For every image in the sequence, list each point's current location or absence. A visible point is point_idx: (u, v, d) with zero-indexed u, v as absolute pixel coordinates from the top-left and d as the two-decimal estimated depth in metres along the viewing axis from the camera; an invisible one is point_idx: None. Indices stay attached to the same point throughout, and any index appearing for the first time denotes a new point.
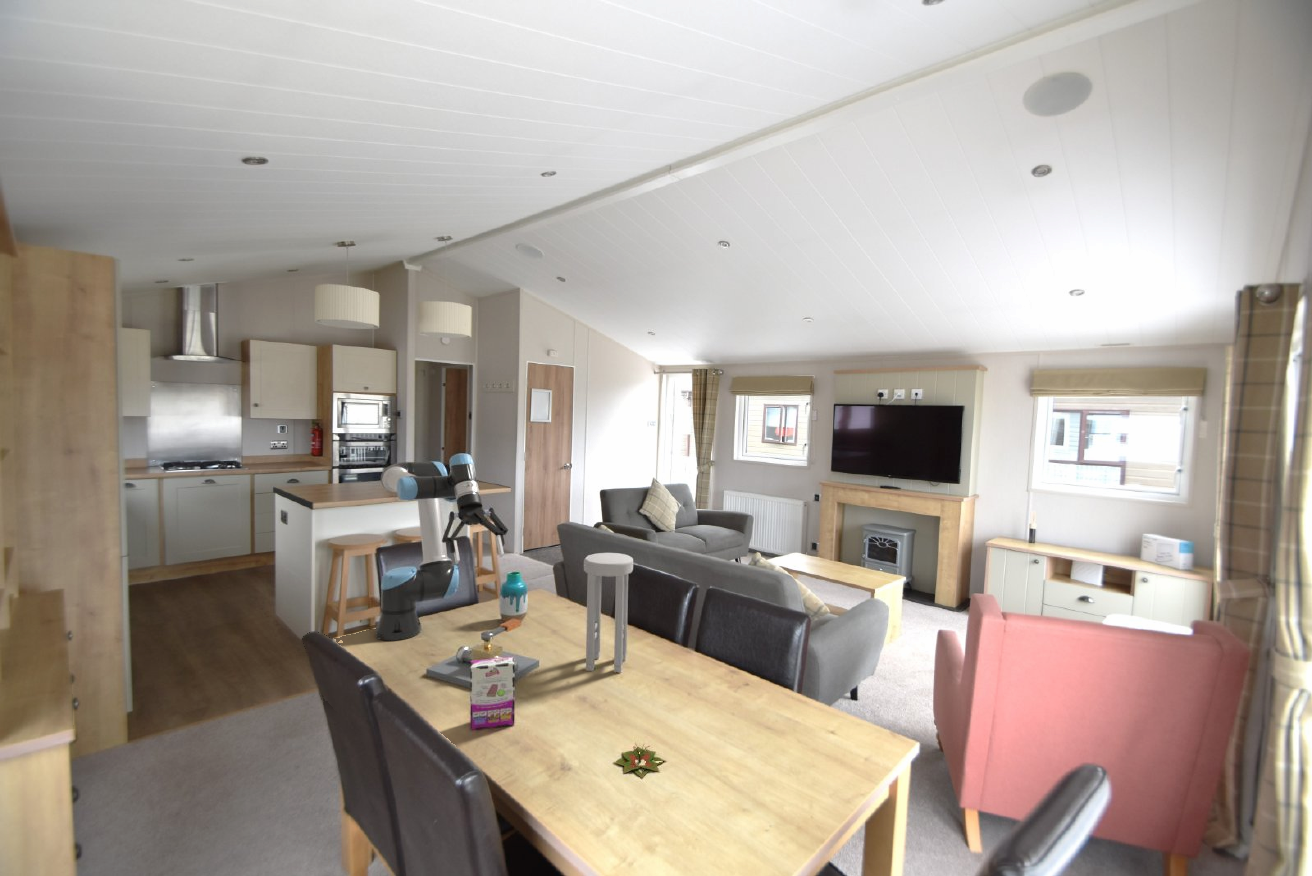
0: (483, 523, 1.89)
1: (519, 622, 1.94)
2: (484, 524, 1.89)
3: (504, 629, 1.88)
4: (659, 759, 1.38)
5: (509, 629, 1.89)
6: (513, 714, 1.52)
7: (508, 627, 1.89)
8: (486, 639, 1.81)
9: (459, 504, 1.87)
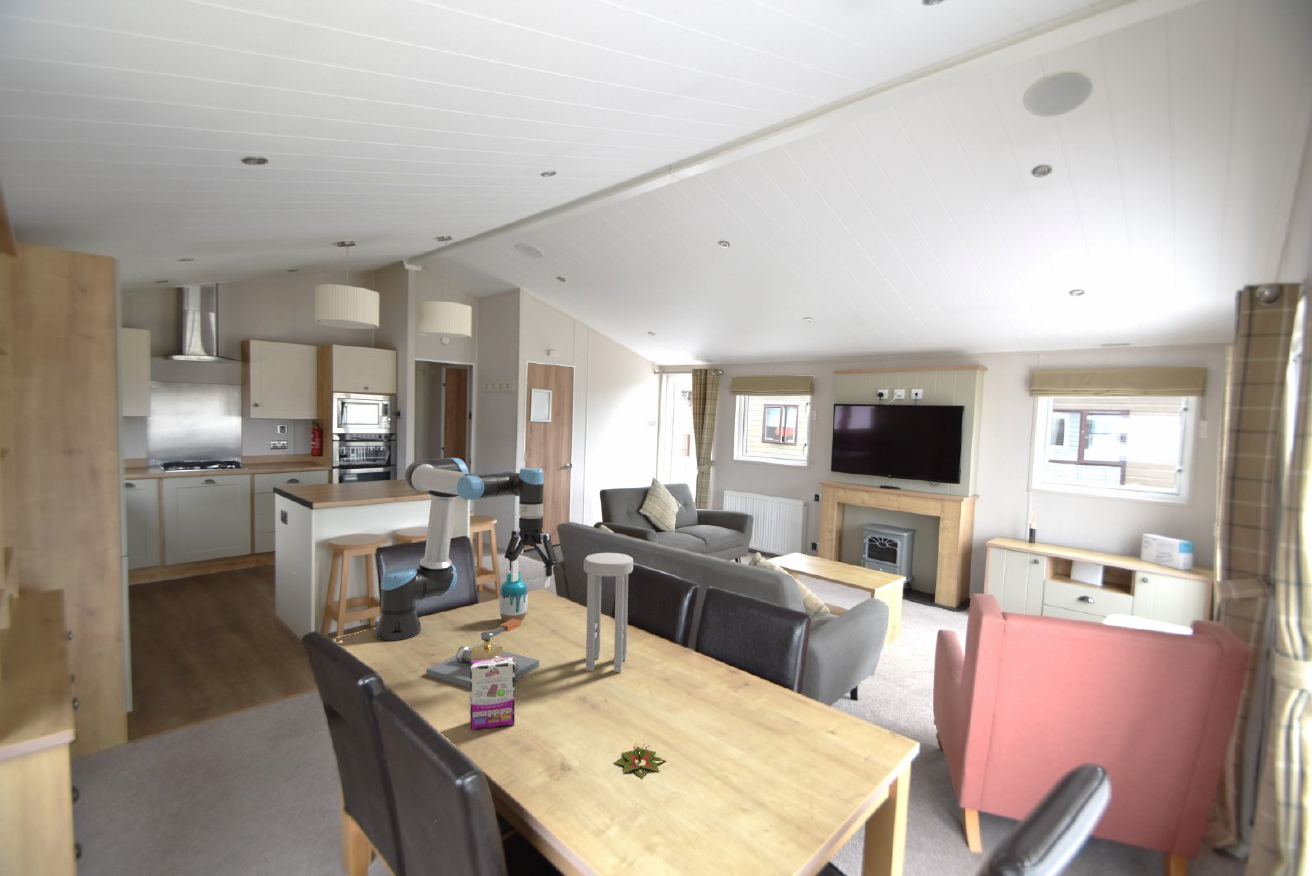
0: None
1: (519, 622, 1.94)
2: None
3: (504, 629, 1.88)
4: (659, 759, 1.38)
5: (509, 629, 1.89)
6: (513, 714, 1.52)
7: (508, 627, 1.89)
8: (486, 639, 1.81)
9: None
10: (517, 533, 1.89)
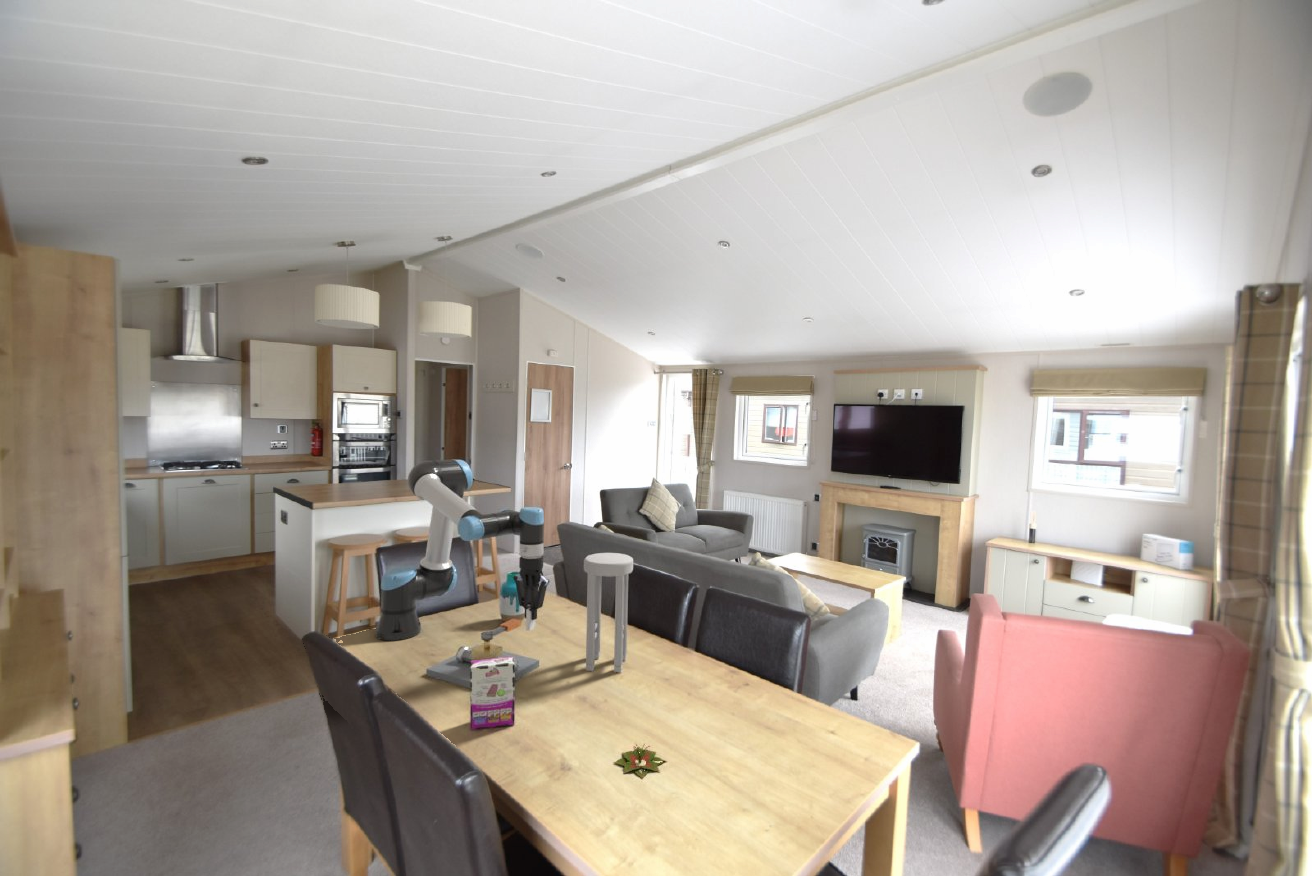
0: None
1: (519, 622, 1.94)
2: None
3: (504, 629, 1.88)
4: (659, 759, 1.38)
5: (509, 629, 1.89)
6: (513, 714, 1.52)
7: (508, 627, 1.89)
8: (486, 639, 1.81)
9: None
10: (518, 576, 1.90)
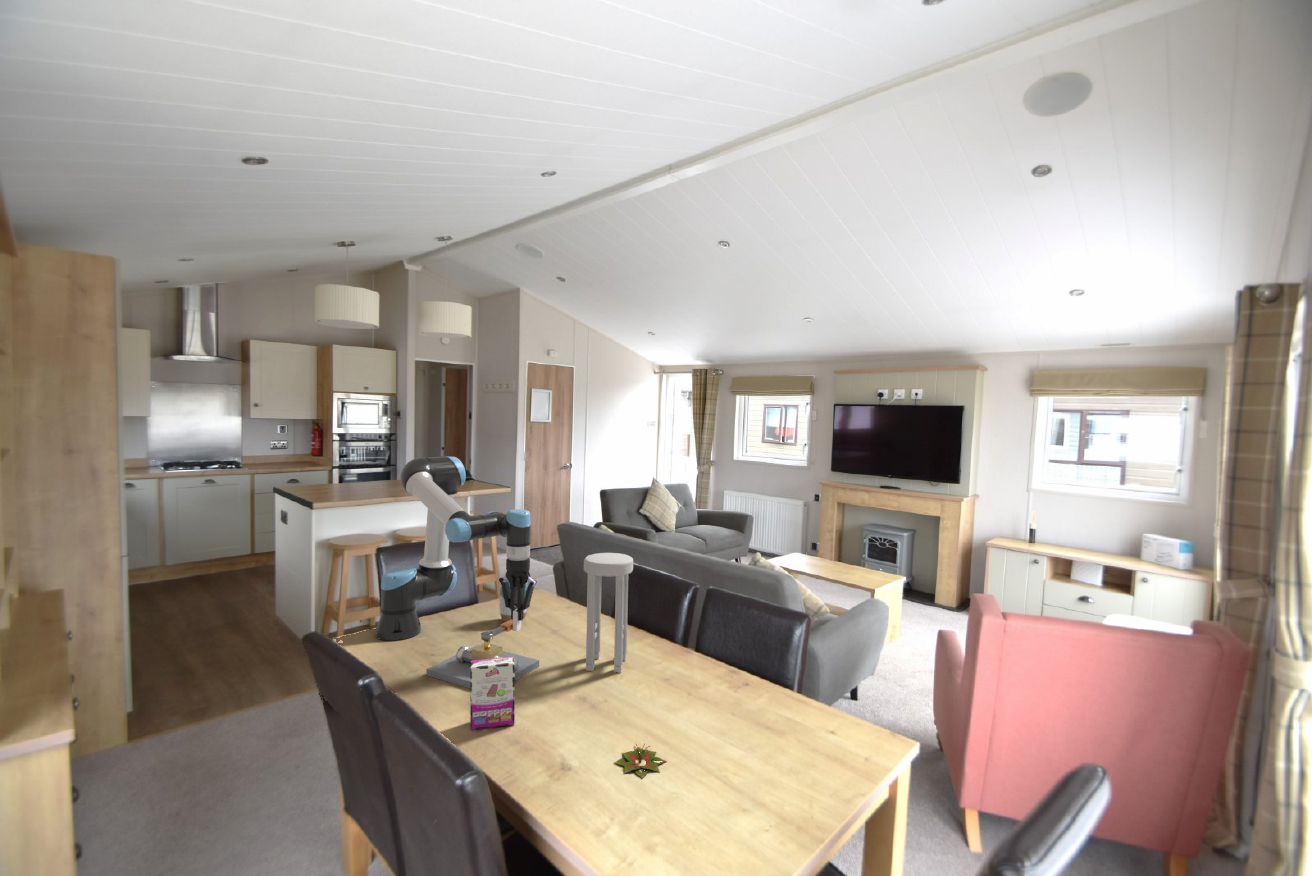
0: None
1: None
2: None
3: (504, 629, 1.88)
4: (659, 759, 1.38)
5: (509, 629, 1.89)
6: (513, 714, 1.52)
7: (508, 627, 1.89)
8: (486, 639, 1.81)
9: None
10: (504, 578, 1.92)
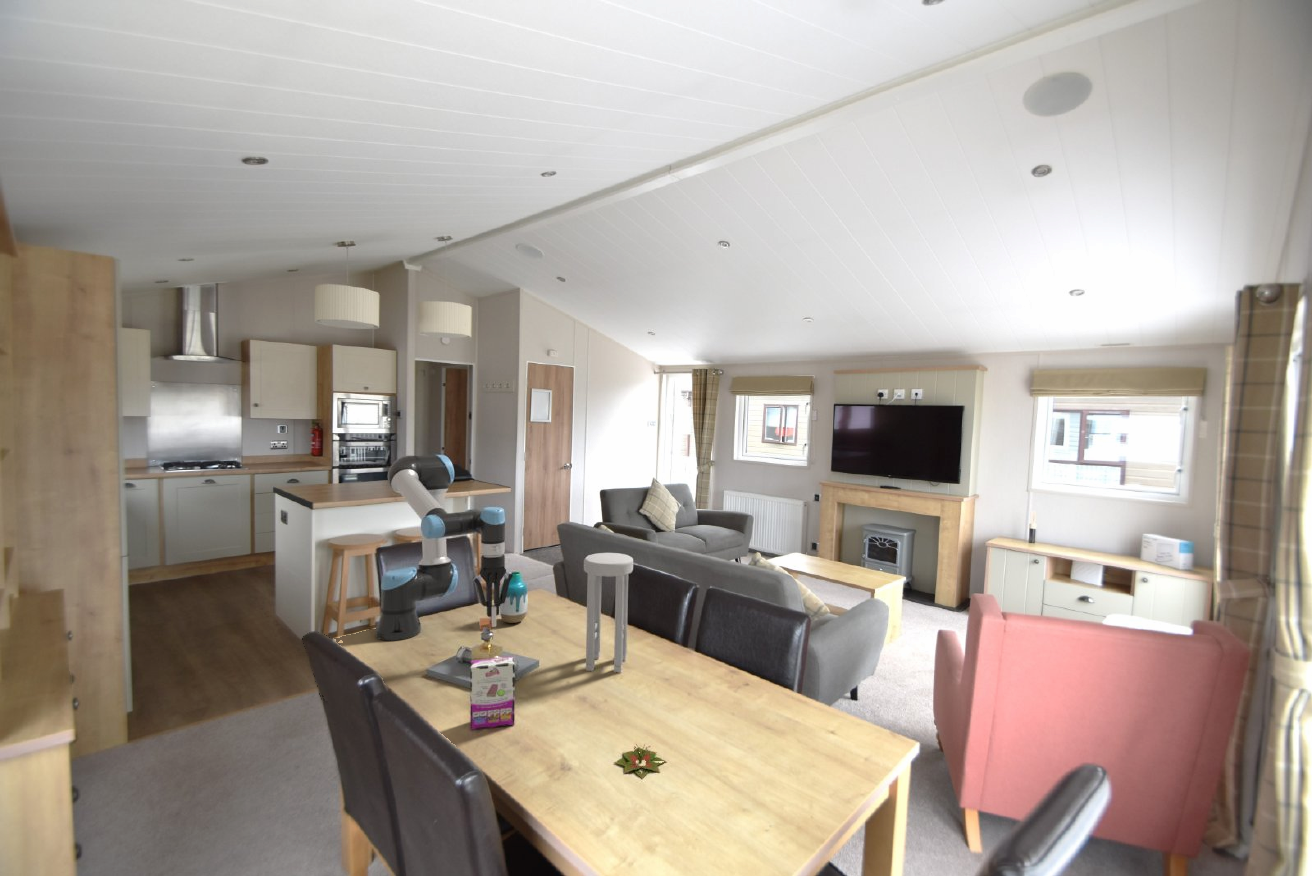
0: (494, 584, 1.94)
1: (489, 619, 1.95)
2: (494, 586, 1.94)
3: (489, 627, 1.89)
4: (660, 759, 1.38)
5: (490, 627, 1.91)
6: (513, 714, 1.52)
7: (490, 625, 1.90)
8: (491, 638, 1.81)
9: (483, 565, 1.90)
10: (479, 578, 1.90)
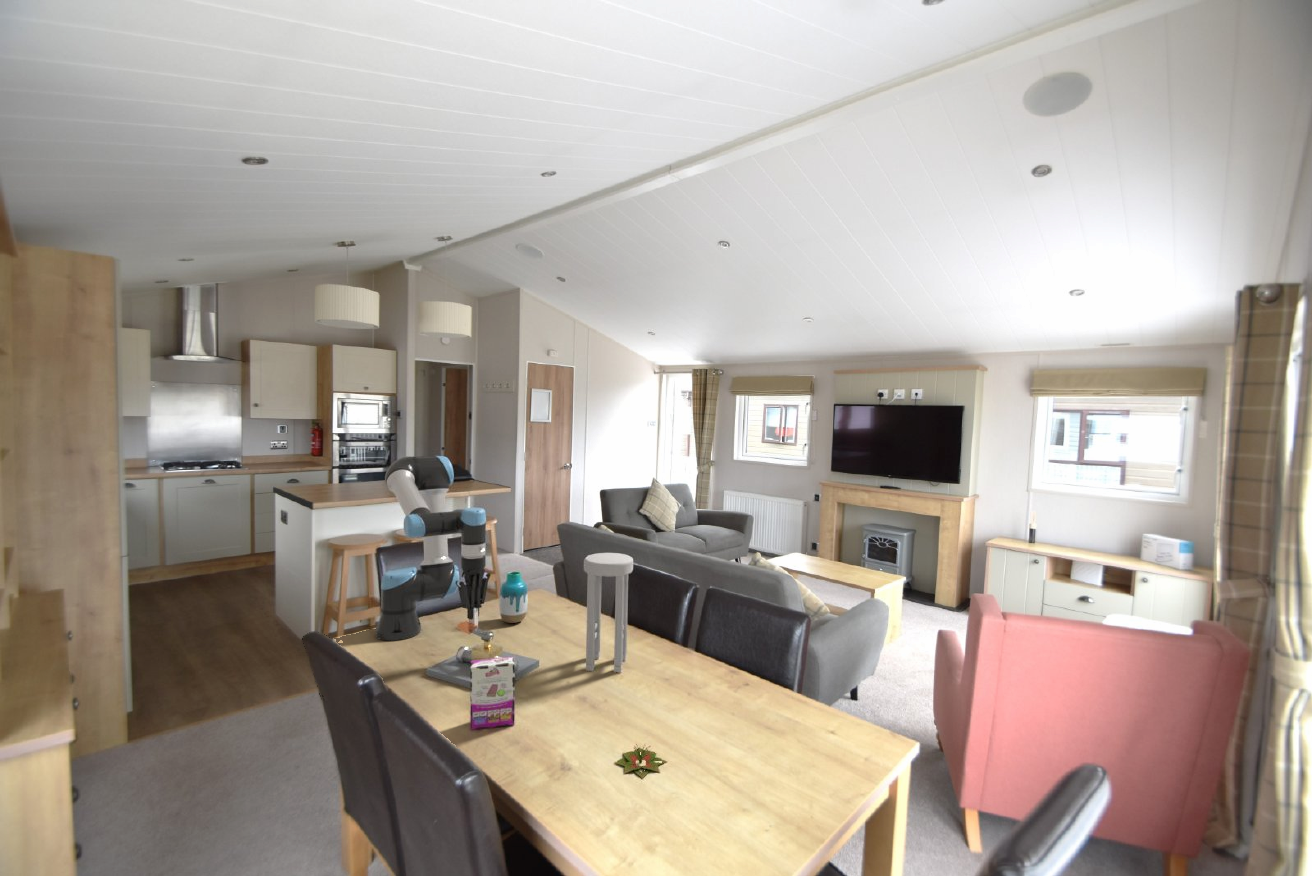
0: None
1: None
2: (474, 587, 1.92)
3: None
4: (660, 759, 1.38)
5: None
6: (513, 714, 1.52)
7: None
8: (492, 637, 1.82)
9: (467, 567, 1.87)
10: (463, 581, 1.87)
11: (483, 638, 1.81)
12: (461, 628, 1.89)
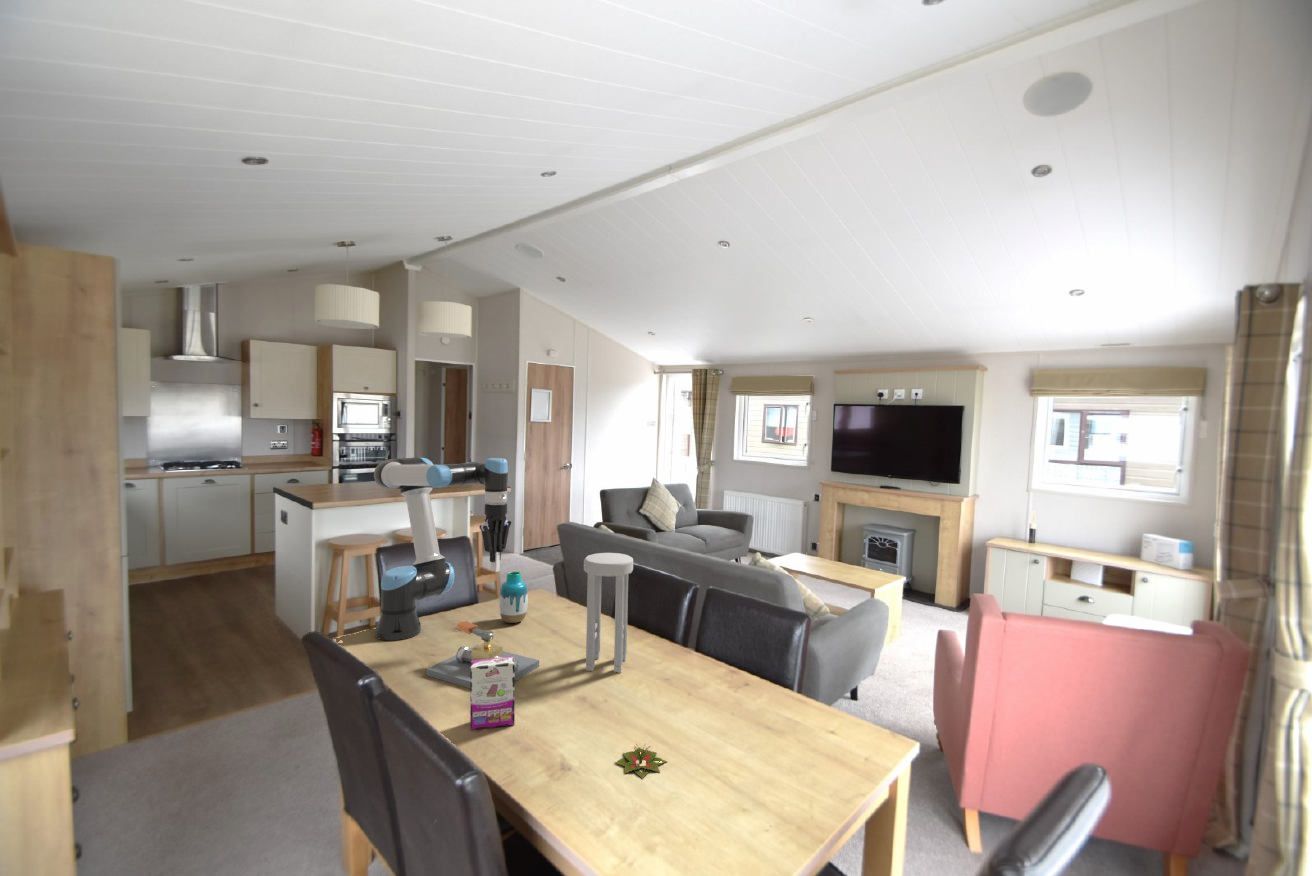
0: None
1: None
2: (496, 532, 2.04)
3: None
4: (660, 760, 1.38)
5: None
6: (513, 714, 1.52)
7: None
8: (492, 637, 1.82)
9: (491, 512, 1.99)
10: (486, 525, 1.99)
11: (483, 638, 1.81)
12: (461, 628, 1.89)
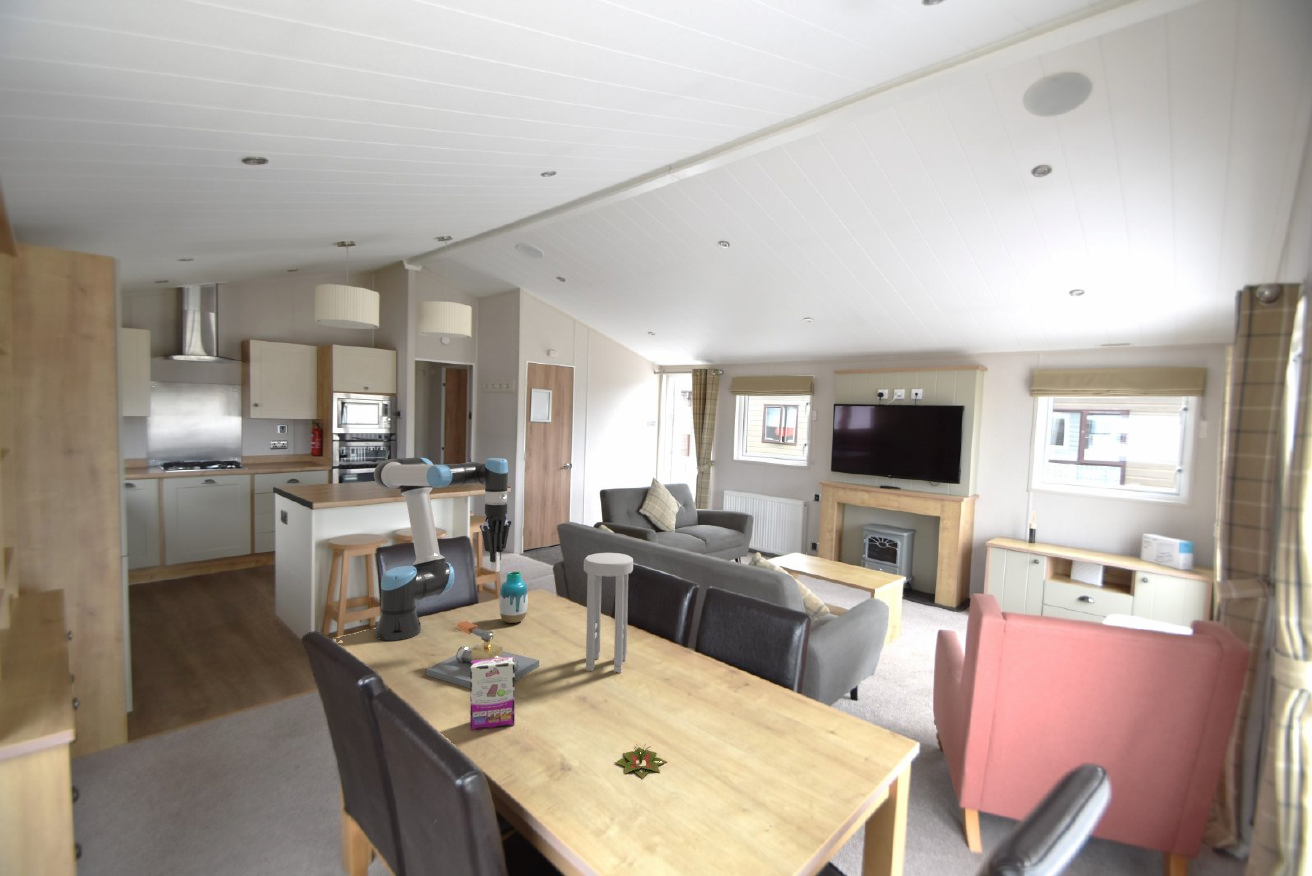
0: None
1: None
2: (496, 532, 2.04)
3: None
4: (660, 760, 1.38)
5: None
6: (513, 714, 1.52)
7: None
8: (492, 637, 1.82)
9: (491, 512, 1.99)
10: (486, 525, 1.99)
11: (483, 638, 1.81)
12: (461, 628, 1.89)
